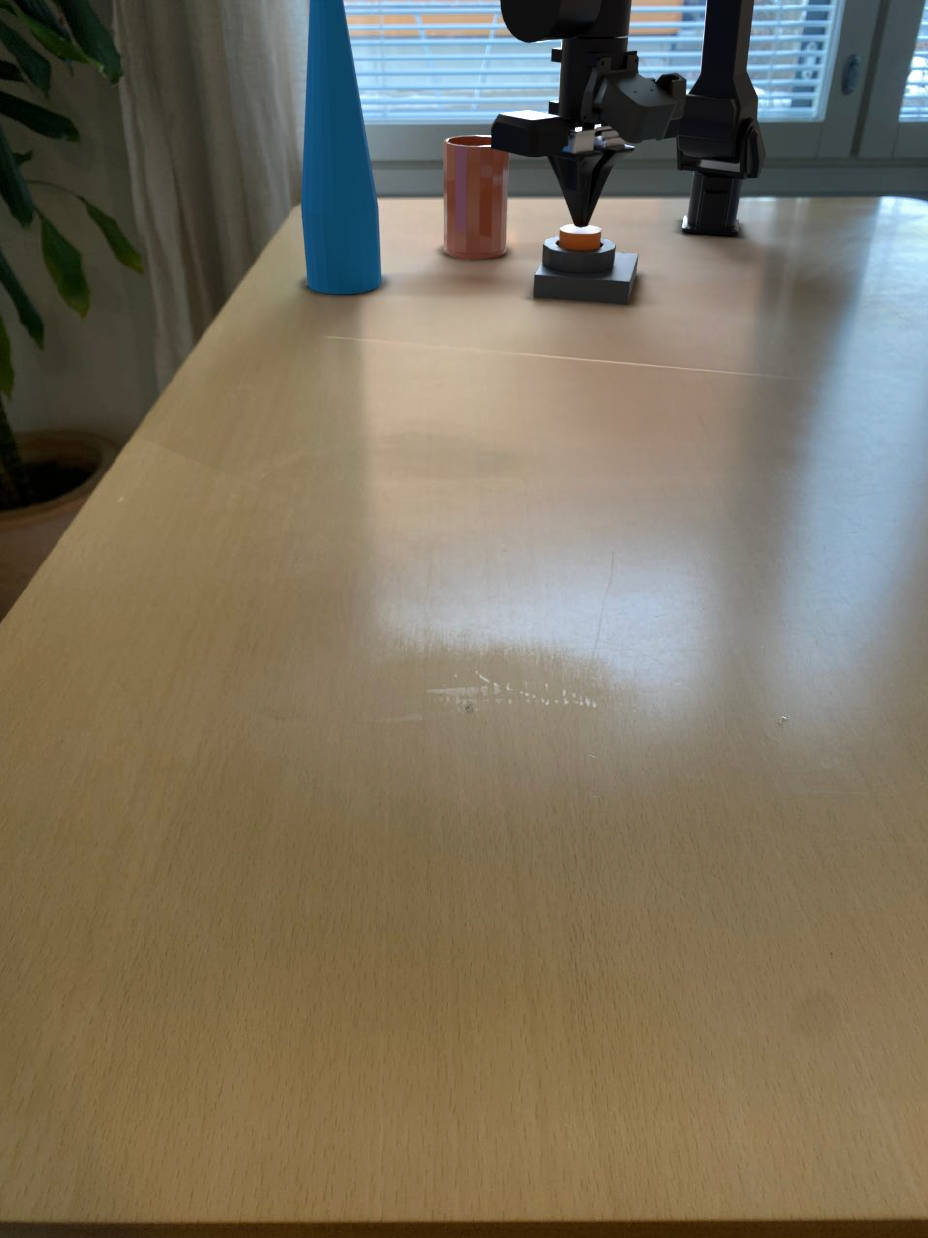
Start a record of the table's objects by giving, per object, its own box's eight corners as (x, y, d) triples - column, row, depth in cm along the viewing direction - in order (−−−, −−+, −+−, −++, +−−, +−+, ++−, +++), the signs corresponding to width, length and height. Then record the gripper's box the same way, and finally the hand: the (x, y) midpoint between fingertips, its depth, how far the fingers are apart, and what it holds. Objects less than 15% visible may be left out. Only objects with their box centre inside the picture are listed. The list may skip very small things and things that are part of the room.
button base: (549, 269, 98) (551, 228, 96) (636, 275, 97) (640, 234, 94) (533, 297, 90) (535, 254, 88) (627, 305, 89) (632, 261, 86)
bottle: (370, 296, 90) (352, -104, 73) (297, 291, 91) (262, -105, 74) (389, 275, 96) (376, -100, 79) (320, 271, 97) (292, -100, 80)
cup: (436, 245, 106) (436, 136, 99) (494, 241, 107) (497, 133, 101) (454, 261, 100) (454, 147, 94) (514, 256, 102) (518, 144, 96)
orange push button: (561, 241, 94) (563, 222, 92) (602, 243, 93) (603, 225, 92) (555, 251, 90) (556, 232, 89) (597, 254, 90) (599, 235, 89)
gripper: (581, 48, 71) (566, 261, 81) (739, 37, 81) (710, 229, 90) (488, 38, 79) (485, 234, 88) (644, 28, 88) (626, 207, 97)
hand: (580, 226), depth 90 cm, fingers closed
